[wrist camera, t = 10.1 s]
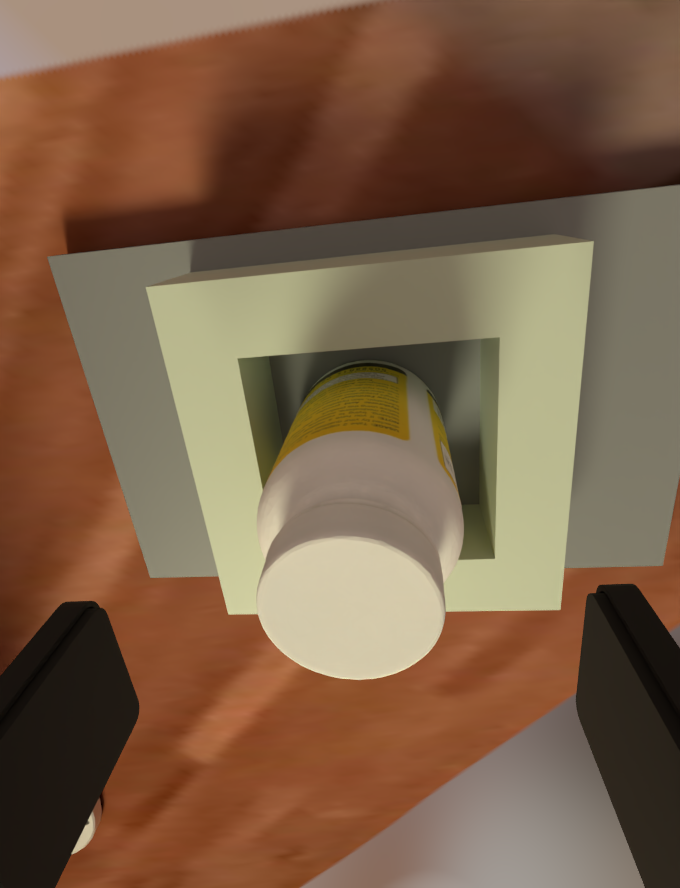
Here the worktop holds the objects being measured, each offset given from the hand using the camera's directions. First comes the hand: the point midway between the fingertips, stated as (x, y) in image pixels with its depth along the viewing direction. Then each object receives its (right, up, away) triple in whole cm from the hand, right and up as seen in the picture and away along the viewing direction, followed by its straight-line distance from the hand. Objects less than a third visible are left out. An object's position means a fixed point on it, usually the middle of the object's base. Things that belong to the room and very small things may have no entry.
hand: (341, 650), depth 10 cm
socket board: (+1, +5, +10) cm, 12 cm away
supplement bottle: (+1, +5, +10) cm, 11 cm away
